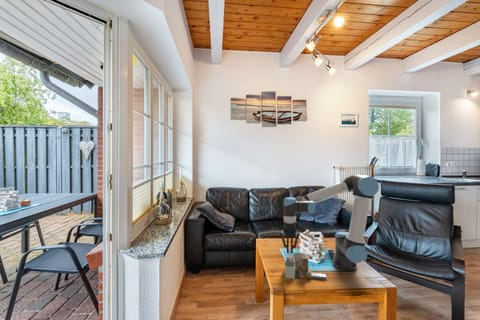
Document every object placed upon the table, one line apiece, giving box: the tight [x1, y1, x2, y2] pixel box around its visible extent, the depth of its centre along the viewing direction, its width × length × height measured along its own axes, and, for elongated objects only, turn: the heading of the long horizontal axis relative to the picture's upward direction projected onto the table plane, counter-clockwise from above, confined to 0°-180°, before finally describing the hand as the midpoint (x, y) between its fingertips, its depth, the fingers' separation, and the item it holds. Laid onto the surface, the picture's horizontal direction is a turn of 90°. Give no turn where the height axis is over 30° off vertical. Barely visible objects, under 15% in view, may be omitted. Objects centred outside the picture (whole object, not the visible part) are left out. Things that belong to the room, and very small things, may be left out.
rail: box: [295, 270, 327, 281], centre depth 144 cm, size 19×4×2 cm, turn 78°
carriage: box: [299, 255, 312, 280], centre depth 145 cm, size 7×6×12 cm
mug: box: [291, 252, 307, 271], centre depth 153 cm, size 8×13×10 cm, turn 79°
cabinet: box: [284, 256, 296, 280], centre depth 147 cm, size 6×9×10 cm, turn 168°
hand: (289, 258), depth 147 cm, fingers closed
